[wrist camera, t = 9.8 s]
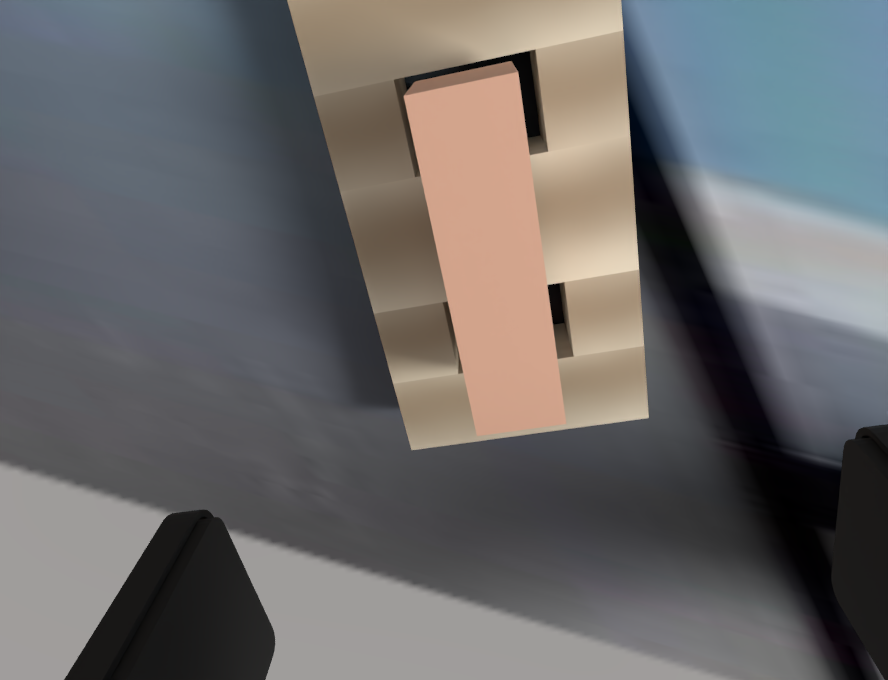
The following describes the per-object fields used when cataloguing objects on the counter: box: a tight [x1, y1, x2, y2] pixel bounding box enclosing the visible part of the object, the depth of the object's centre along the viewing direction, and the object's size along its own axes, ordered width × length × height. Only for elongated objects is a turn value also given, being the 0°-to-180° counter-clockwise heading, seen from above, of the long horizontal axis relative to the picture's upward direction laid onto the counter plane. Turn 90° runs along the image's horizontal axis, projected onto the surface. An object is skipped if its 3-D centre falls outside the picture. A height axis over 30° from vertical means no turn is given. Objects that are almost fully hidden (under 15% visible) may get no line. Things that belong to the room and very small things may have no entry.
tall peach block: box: [404, 61, 566, 436], centre depth 22 cm, size 11×3×8 cm, turn 11°
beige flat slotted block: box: [287, 0, 649, 450], centre depth 24 cm, size 18×10×3 cm, turn 11°
